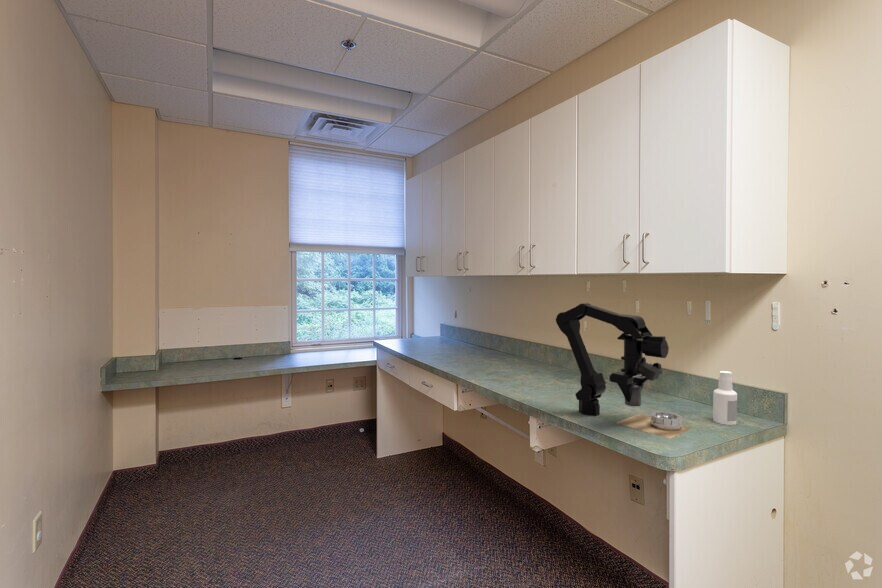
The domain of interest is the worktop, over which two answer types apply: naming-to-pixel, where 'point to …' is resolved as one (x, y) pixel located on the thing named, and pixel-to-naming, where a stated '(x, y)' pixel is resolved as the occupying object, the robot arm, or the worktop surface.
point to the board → (649, 426)
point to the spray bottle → (725, 400)
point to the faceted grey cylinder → (666, 421)
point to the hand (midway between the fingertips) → (632, 400)
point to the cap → (635, 396)
